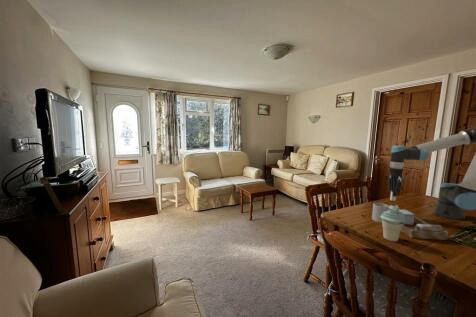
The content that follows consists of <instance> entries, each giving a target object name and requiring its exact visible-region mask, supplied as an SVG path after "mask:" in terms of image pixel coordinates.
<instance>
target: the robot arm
mask: <svg viewBox="0 0 476 317" xmlns="http://www.w3.org/2000/svg"><path fill="white" fill-rule="evenodd" d="M470 144H471V145H472V144H476V126H474V127H470V128H468V129H464V130H461V131H459V132H458V133H456V134H452V135H449V136H445V137H441V138H438V139H434V140H430V141H428V142H423V143H421V144H420V143H419V144H416V145H412V146H409V147H407V146H406V145H392V146H391V151H390V163H389V171H388V172H389V173H390V175H387V178H388V189H389V190H390V197H389V198H390V199H389V200H390V201H394V202H395V201H396V199H397V193H399V192H401V187H402V185H403V184H402V183H403V182H404V179H402V176H401V175H403V173H404V165H405V161H427V160H428V159H429V155H430V154H431V153H435V152H438V151H441V150H445V149H449V148H452V147H453V148H454V147H456V146H457V147H458V146H460V145H470ZM437 202H438V203H437V204H436V206H435V208H433V213H434V214H435V215H437V216H439V217H441V218H442V217H443V218H445V219H452V220H458V221H459V220H465V217H466V215H465V211H464V210H467V211H474V210H476V152H474V156H473V158H472V160H471V162H470V165H469V166H468V168H467V171H466V173H465V174H464V177H463V179H462V181H461V182H460V183H450V182H449V183H448V182H443V183H441V184H440V186H439V194H438V201H437Z"/></svg>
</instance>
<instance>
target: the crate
mask: <svg viewBox="0 0 476 317" xmlns="http://www.w3.org/2000/svg"><path fill="white" fill-rule="evenodd" d="M399 210H401V211H402V213H403V214H404V218H405V220H406V221H405V222H403V225H412V226H414V224H415V222H414V217H416V214H414V213H413V212H411V211H410V210H407V209H400V208H399Z"/></svg>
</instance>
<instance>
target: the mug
mask: <svg viewBox="0 0 476 317" xmlns="http://www.w3.org/2000/svg"><path fill="white" fill-rule="evenodd" d="M387 208H389V205H388V204H386V203H382V202H373V204H372V212H371V213H372V215H371V220H372V221H374V222H376V223H380V224H382V218H381V217H380V216H381V215H382V213H384V211H385V212H387V210H386V209H387Z"/></svg>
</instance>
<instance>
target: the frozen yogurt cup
mask: <svg viewBox="0 0 476 317" xmlns="http://www.w3.org/2000/svg"><path fill="white" fill-rule="evenodd" d="M388 206H389V207H388V208H387V209H386V210H387V212H385V211H384V213H382V215H381V216H380V217H381V218H382V223H381V225H382V234H383V235H382V236H383V238H384V239H385V240H388V241H390V242H398V241H399V238H400V235H401V234H400V233H401V232H402V231H401V229H402V226H403V225H404V224H403V222H405V221H406V220H405V218H404V214H403V213H402V211H401V210H402V209H401V210H399V209H400V207H399V206H398V205H397V204H395V205H391V204H390V205H388Z"/></svg>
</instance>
